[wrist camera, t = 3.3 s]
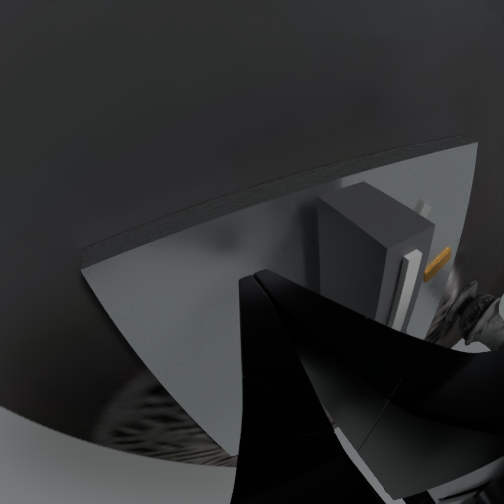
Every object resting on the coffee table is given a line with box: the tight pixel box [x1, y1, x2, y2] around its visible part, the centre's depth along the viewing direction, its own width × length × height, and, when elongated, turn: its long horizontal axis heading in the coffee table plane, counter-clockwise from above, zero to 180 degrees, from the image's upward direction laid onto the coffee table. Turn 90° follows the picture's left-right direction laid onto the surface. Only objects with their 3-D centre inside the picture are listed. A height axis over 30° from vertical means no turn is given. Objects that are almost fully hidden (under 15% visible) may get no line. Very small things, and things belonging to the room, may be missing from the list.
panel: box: [81, 135, 478, 456], centre depth 16 cm, size 20×18×1 cm
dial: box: [317, 181, 435, 417], centre depth 12 cm, size 14×8×4 cm, turn 10°
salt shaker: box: [445, 281, 504, 351], centre depth 20 cm, size 6×6×12 cm
